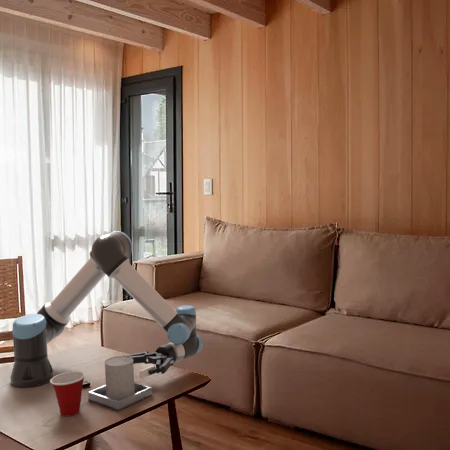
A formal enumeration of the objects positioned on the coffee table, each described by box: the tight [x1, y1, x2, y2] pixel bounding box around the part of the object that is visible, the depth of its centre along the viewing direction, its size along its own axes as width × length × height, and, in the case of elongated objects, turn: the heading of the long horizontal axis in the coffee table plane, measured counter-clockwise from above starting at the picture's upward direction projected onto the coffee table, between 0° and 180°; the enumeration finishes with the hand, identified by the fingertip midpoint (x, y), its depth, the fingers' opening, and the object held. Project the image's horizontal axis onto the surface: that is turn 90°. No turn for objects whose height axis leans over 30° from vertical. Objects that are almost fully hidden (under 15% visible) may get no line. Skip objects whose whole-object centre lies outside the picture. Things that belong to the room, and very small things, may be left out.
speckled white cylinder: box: [104, 355, 135, 401], centre depth 192 cm, size 10×10×12 cm
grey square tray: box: [87, 381, 153, 412], centre depth 192 cm, size 15×15×3 cm
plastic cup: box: [49, 370, 86, 417], centre depth 181 cm, size 11×11×12 cm
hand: (126, 370), depth 193 cm, fingers open, 13 cm apart
